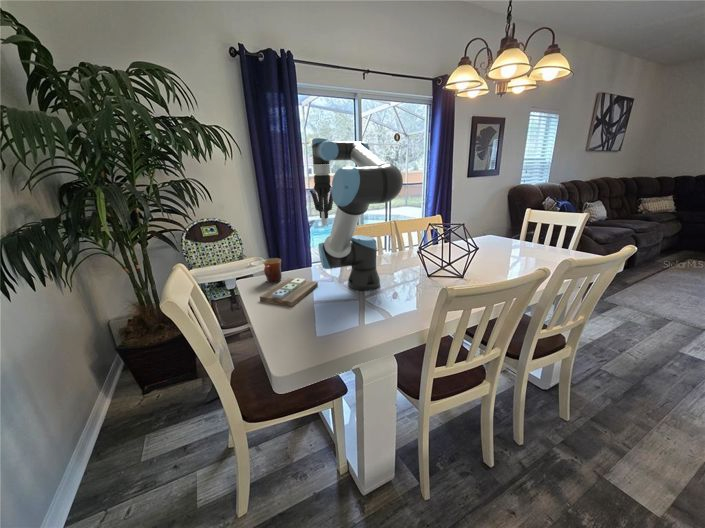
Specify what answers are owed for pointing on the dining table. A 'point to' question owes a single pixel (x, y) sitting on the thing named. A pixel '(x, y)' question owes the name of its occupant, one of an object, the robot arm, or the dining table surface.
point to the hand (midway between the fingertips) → (324, 225)
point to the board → (293, 296)
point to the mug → (272, 269)
